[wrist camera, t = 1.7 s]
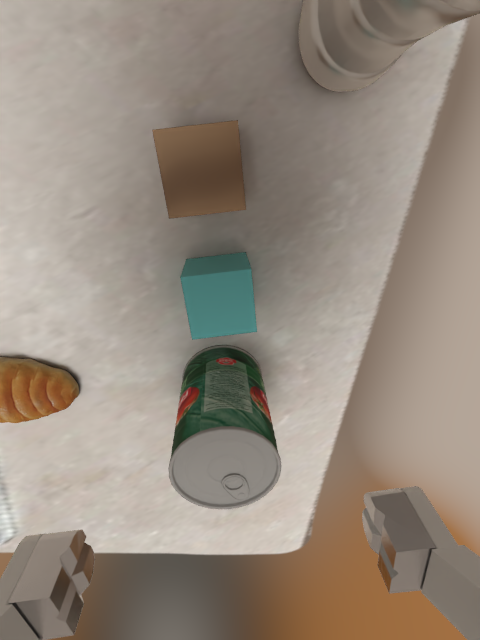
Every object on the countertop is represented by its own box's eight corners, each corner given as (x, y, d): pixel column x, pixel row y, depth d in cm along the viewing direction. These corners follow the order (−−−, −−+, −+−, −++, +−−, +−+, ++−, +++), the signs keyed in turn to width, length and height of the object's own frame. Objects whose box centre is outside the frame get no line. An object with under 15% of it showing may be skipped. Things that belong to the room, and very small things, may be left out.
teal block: (186, 258, 27) (180, 277, 23) (245, 251, 27) (251, 269, 23) (195, 312, 30) (192, 339, 25) (250, 306, 30) (257, 331, 25)
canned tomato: (168, 363, 31) (146, 454, 22) (243, 332, 31) (256, 413, 21) (204, 420, 35) (199, 522, 25) (273, 394, 34) (296, 488, 24)
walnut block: (164, 136, 23) (152, 129, 19) (233, 128, 24) (237, 120, 19) (177, 209, 26) (169, 218, 21) (240, 201, 26) (245, 209, 21)
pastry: (75, 351, 31) (57, 375, 27) (87, 408, 33) (72, 436, 30) (-32, 352, 30) (-64, 376, 26) (-10, 409, 33) (-36, 438, 29)
